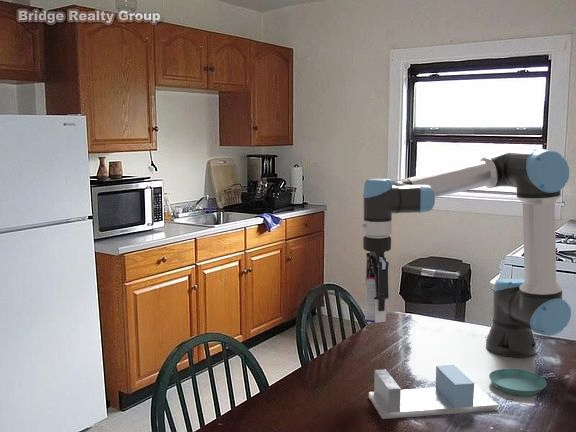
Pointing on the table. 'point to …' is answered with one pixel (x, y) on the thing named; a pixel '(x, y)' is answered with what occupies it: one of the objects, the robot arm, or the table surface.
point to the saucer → (517, 381)
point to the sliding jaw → (455, 386)
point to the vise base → (419, 400)
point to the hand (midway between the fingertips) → (376, 317)
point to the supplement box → (371, 300)
